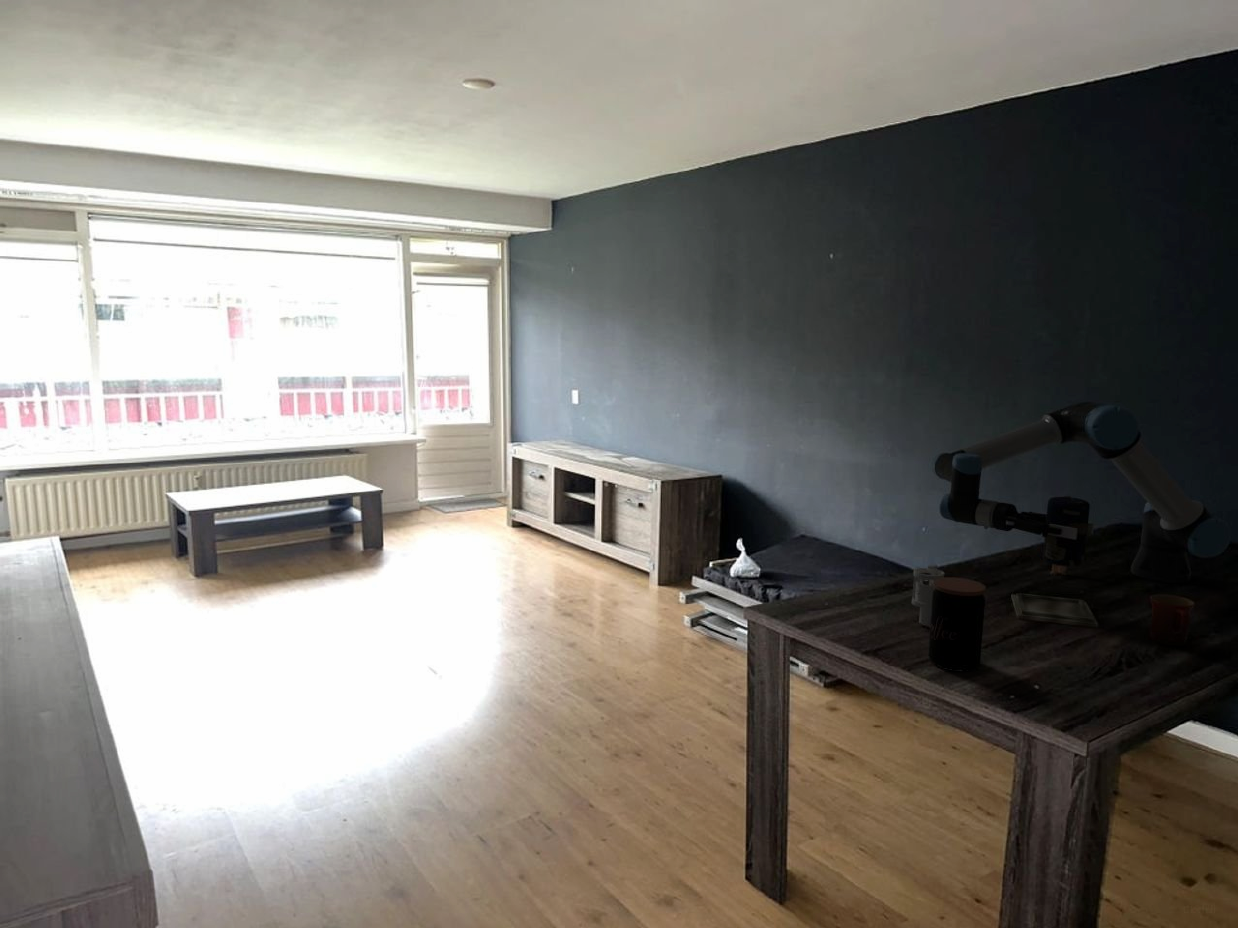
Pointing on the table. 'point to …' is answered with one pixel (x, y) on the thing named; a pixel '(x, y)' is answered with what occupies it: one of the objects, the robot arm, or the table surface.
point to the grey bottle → (925, 591)
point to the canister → (1068, 515)
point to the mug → (1170, 619)
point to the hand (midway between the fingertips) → (1084, 531)
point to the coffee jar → (956, 623)
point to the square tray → (1053, 610)
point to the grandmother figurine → (1058, 569)
